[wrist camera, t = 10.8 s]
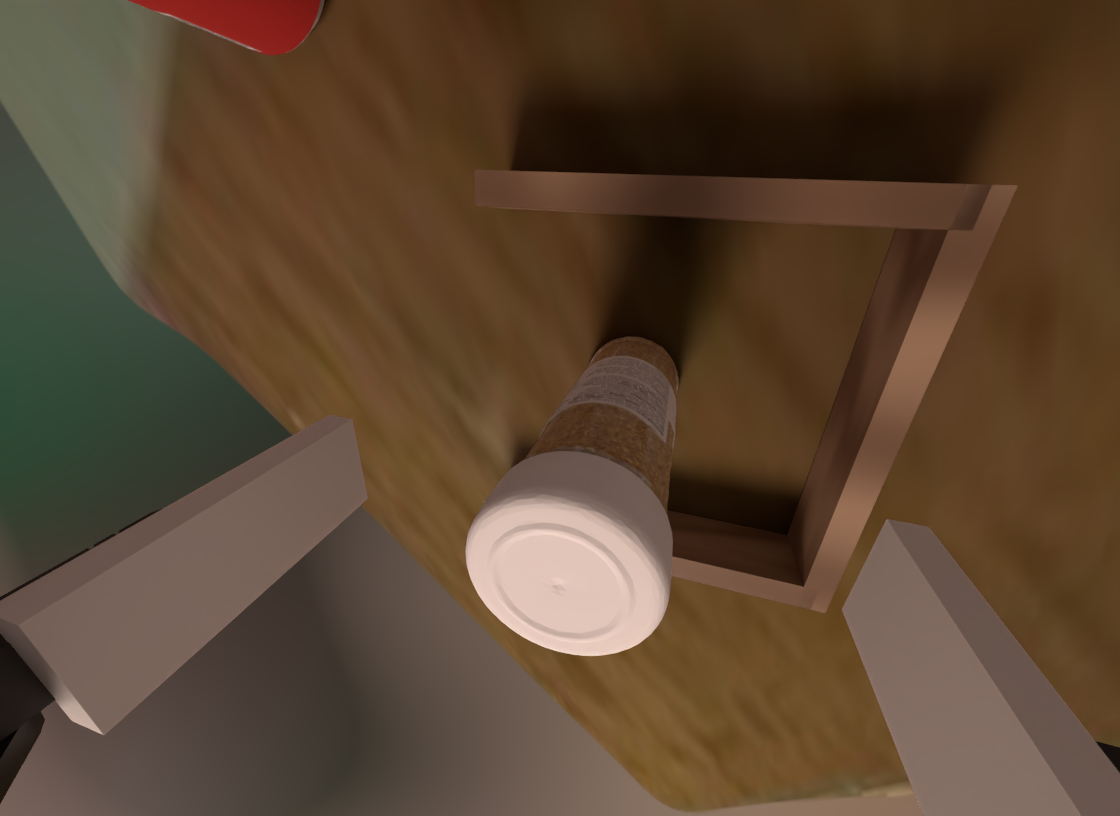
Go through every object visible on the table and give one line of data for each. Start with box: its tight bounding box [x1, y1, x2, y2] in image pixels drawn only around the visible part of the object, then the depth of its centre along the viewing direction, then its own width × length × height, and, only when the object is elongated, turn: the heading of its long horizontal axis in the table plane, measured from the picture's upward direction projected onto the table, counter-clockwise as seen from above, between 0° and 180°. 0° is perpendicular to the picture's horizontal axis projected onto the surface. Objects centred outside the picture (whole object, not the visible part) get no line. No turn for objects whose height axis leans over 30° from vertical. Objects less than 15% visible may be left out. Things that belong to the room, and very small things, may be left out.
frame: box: [474, 170, 1018, 613], centre depth 19 cm, size 17×17×4 cm
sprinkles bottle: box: [466, 336, 679, 656], centre depth 15 cm, size 5×5×14 cm
